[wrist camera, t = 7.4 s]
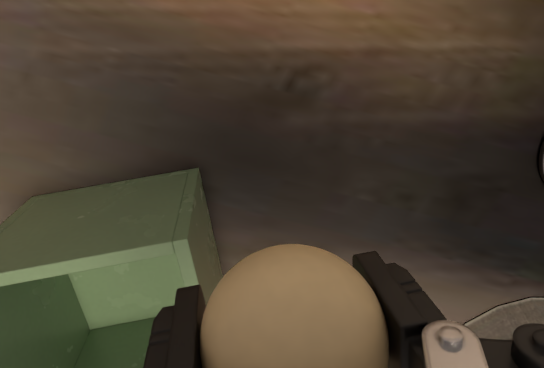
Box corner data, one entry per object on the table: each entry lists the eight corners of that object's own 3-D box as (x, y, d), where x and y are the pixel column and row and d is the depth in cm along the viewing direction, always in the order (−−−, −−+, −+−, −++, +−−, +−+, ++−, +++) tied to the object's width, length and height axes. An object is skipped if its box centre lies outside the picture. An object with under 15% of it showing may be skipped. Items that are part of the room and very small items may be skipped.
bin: (32, 196, 31) (-72, 286, 20) (198, 167, 32) (187, 238, 21) (86, 331, 36) (28, 463, 25) (229, 304, 37) (233, 419, 26)
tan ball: (362, 212, 13) (447, 320, 8) (344, 338, 15) (406, 486, 10) (201, 215, 12) (190, 333, 7) (203, 346, 14) (197, 511, 9)
